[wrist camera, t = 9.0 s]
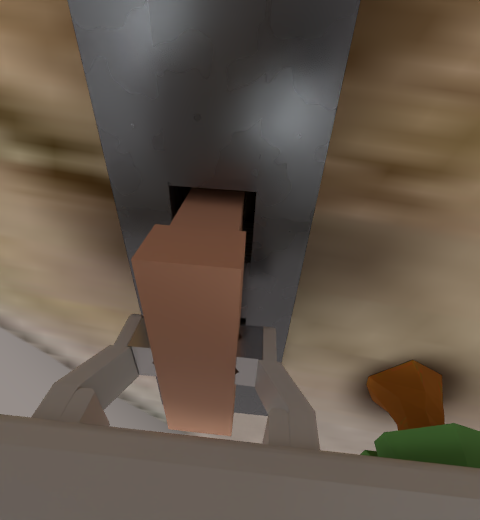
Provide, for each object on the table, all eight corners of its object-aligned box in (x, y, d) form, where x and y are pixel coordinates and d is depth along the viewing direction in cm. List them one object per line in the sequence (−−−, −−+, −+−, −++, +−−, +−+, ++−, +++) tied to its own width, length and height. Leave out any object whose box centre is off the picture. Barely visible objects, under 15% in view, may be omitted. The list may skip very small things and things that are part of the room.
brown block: (184, 180, 12) (131, 259, 8) (252, 185, 12) (241, 269, 8) (195, 330, 18) (168, 429, 13) (241, 335, 18) (231, 436, 13)
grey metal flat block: (117, -42, 10) (47, -87, 7) (341, -33, 10) (377, -77, 7) (176, 358, 24) (162, 404, 21) (269, 367, 24) (269, 416, 21)
